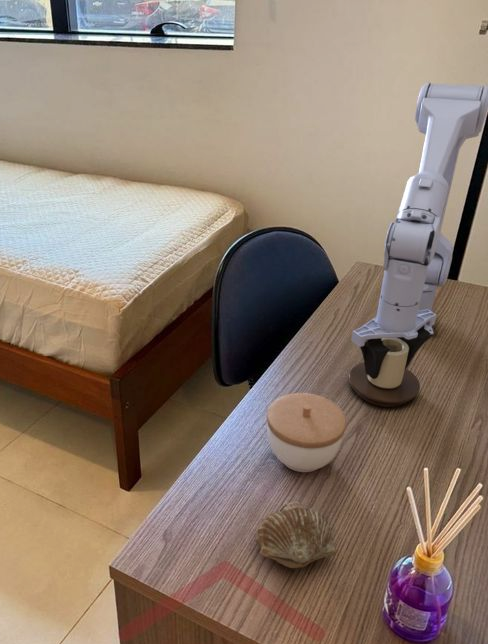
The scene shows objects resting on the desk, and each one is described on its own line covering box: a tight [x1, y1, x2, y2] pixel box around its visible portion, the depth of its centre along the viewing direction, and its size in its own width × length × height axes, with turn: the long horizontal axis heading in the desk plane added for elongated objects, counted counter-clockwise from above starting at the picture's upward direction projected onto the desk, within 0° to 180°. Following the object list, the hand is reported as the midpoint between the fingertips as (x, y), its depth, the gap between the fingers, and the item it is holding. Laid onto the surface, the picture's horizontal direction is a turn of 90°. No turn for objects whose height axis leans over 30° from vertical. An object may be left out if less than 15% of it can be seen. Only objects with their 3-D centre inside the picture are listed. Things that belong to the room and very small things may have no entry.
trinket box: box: [266, 392, 347, 473], centre depth 84 cm, size 11×11×9 cm
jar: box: [368, 337, 409, 388], centre depth 96 cm, size 5×5×6 cm
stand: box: [348, 361, 421, 408], centre depth 99 cm, size 11×11×2 cm
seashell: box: [253, 501, 338, 569], centre depth 71 cm, size 9×7×8 cm
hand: (385, 370), depth 97 cm, fingers closed on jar, 5 cm apart
